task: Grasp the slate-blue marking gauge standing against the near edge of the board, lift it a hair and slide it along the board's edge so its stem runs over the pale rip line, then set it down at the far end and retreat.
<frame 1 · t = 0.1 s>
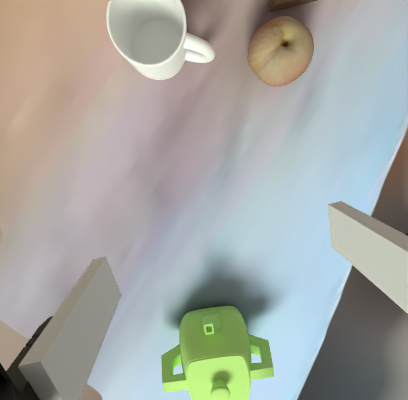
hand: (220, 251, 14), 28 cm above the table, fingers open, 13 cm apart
fruit: (269, 60, 37), on the table
mug: (171, 53, 36), on the table
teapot: (211, 321, 51), on the table
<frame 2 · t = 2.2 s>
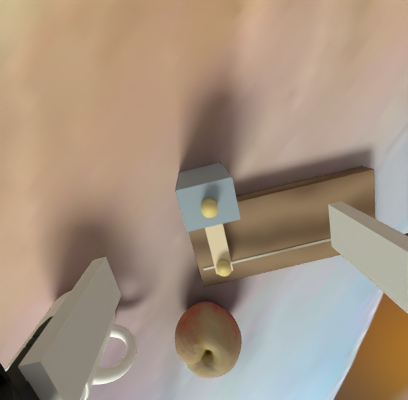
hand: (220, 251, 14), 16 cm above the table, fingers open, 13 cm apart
fruit: (205, 312, 35), on the table
board: (278, 224, 32), on the table
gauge: (203, 183, 29), on the table
mug: (100, 313, 34), on the table
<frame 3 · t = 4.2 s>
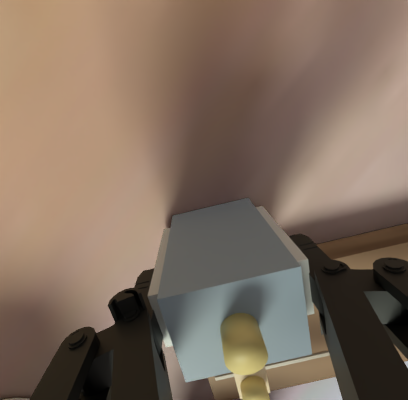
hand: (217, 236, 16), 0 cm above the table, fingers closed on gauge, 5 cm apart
board: (341, 297, 19), on the table
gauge: (216, 234, 17), on the table, touching gripper
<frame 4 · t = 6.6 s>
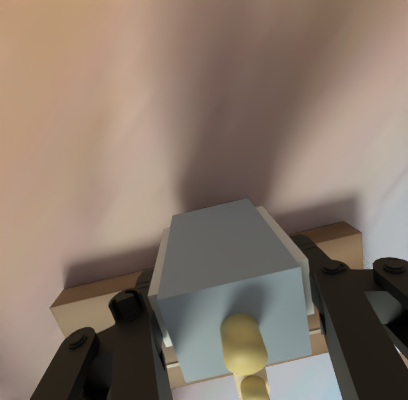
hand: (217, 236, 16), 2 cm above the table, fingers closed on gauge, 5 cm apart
board: (216, 307, 20), on the table
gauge: (216, 234, 17), point 2 cm above the table, touching gripper
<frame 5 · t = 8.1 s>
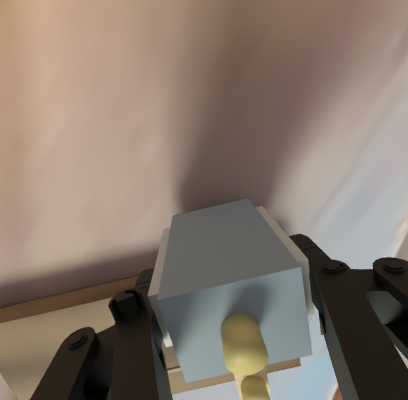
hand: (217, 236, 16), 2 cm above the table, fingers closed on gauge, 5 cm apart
board: (151, 327, 20), on the table
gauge: (217, 234, 17), point 1 cm above the table, touching gripper
when the fingers open (1 cm above the table, at t = 9.1 s): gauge stays where it is, on the table.
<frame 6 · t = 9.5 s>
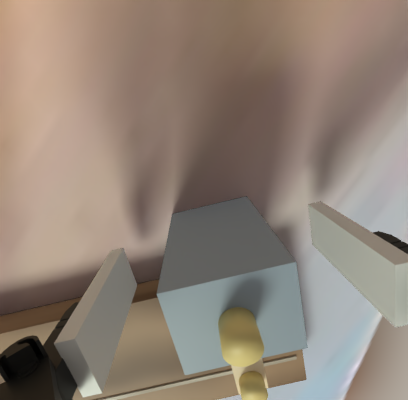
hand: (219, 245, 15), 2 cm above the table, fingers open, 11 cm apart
board: (148, 339, 19), on the table
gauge: (215, 232, 17), on the table
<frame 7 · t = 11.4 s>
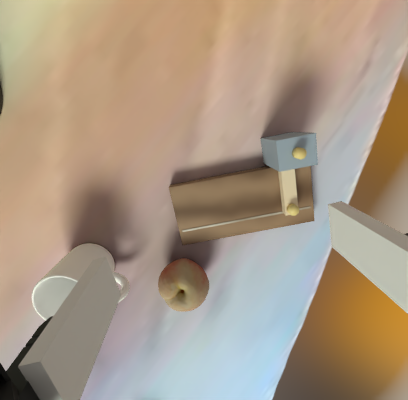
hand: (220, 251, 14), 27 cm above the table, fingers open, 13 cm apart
fruit: (184, 270, 45), on the table
board: (241, 201, 42), on the table
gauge: (277, 147, 39), on the table
mug: (103, 264, 45), on the table
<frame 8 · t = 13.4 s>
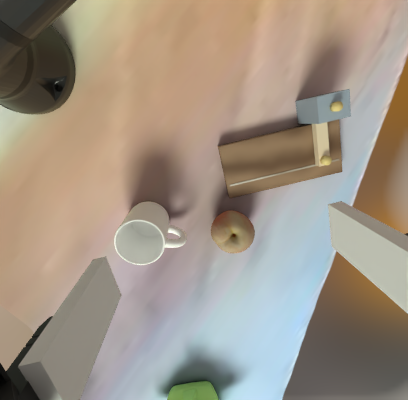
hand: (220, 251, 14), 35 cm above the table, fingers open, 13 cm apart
fruit: (229, 223, 52), on the table
board: (278, 158, 48), on the table
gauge: (310, 109, 46), on the table
mug: (158, 221, 51), on the table
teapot: (192, 390, 66), on the table
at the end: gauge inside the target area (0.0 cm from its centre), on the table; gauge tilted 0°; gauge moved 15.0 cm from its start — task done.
